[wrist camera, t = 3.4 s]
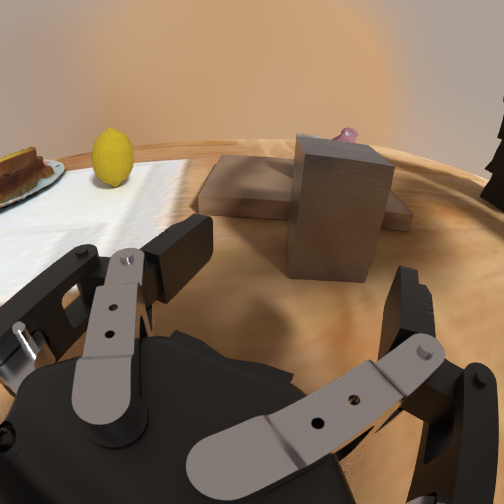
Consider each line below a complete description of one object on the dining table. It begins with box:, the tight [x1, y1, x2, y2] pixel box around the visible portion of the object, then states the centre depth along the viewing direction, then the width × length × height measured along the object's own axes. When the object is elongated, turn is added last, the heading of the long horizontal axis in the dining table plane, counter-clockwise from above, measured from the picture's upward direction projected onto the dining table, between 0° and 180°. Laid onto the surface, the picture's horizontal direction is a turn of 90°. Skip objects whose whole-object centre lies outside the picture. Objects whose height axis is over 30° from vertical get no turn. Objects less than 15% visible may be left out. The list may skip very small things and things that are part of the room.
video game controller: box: [332, 128, 358, 143], centre depth 54 cm, size 10×5×7 cm, turn 158°
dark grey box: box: [286, 136, 395, 282], centre depth 22 cm, size 6×6×9 cm
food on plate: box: [0, 147, 66, 207], centre depth 34 cm, size 25×25×7 cm
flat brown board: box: [198, 134, 413, 231], centre depth 34 cm, size 22×16×7 cm
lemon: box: [92, 128, 134, 187], centre depth 34 cm, size 6×6×8 cm
